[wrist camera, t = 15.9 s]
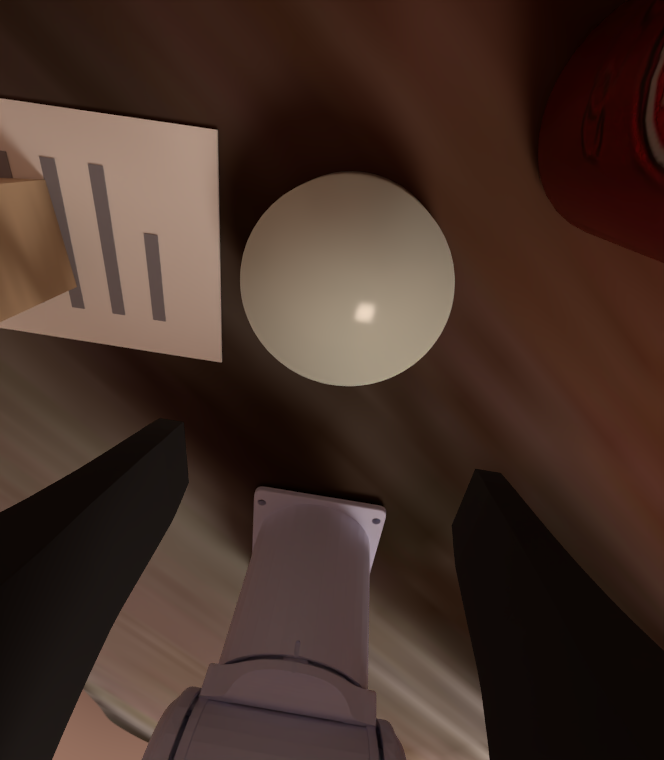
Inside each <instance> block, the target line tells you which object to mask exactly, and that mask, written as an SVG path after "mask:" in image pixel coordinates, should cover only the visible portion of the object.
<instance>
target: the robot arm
mask: <svg viewBox="0 0 664 760" xmlns="http://www.w3.org/2000/svg"><path fill="white" fill-rule="evenodd" d="M188 483H189V480H188V467H187V455H186V443H185V431H184V422H180V421H174V420H168V419H161V418H159V419H158V420H156V421H154V422H152V423H151V424H149V425H148V426H146V427H144V428H143V429H141V430H140V431H138V432H137V433H135V434H133V435H132V436H130V437H129V438H127V439H126V440H124V441H123V442H121V443H119V444H118V445H116V446H115V447H113V448H112V449H110V450H108V451H107V452H105V453H103V454H102V455H100V456H99V457H97V458H95V459H94V460H92V461H91V462H89V463H87V464H86V465H84V466H83V467H81V468H79V469H78V470H76V471H74V472H72V473H71V474H69V475H67V476H65V477H64V478H62V479H60V480H58V481H57V482H55V483H53V484H51V485H50V486H48V487H46V488H44V489H43V490H41V491H39V492H37V493H36V494H34V495H32V496H30V497H29V498H27V499H25V500H23V501H21V502H19V503H17V504H15V505H13V506H12V507H10V508H8V509H6V510H4V511H2V512H0V760H52V758H53V756H54V753H55V751H56V749H57V746H58V744H59V742H60V739H61V737H62V735H63V732H64V730H65V728H66V725H67V723H68V721H69V719H70V716H71V714H72V712H73V710H74V708H75V705H76V703H77V701H78V698H79V696H80V694H81V692H82V690H83V687H84V685H85V683H86V681H87V678H88V676H89V674H90V672H91V670H92V668H93V666H94V663H95V661H96V659H97V657H98V655H99V653H100V651H101V649H102V646H103V644H104V642H105V640H106V638H107V636H108V634H109V632H110V629H111V628H112V626H113V624H114V622H115V620H116V618H117V616H118V614H119V613H120V611H121V609H122V607H123V605H124V604H125V602H126V600H127V598H128V597H129V595H130V593H131V592H132V590H133V588H134V586H135V585H136V583H137V581H138V580H139V578H140V576H141V574H142V573H143V571H144V569H145V568H146V566H147V564H148V562H149V561H150V559H151V557H152V555H153V554H154V552H155V550H156V549H157V547H158V545H159V543H160V542H161V540H162V538H163V536H164V535H165V533H166V531H167V529H168V528H169V526H170V524H171V522H172V520H173V518H174V516H175V514H176V512H177V509H178V507H179V505H180V503H181V500H182V498H183V495H184V493H185V490H186V488H187V486H188ZM261 499H262V500H261ZM263 500H264V501H263ZM374 518H377V519H374ZM385 518H386V510H385V508H384V507H382V506H380V505H374V504H368V503H362V502H356V501H350V500H343V499H337V498H331V497H325V496H319V495H313V494H307V493H300V492H294V491H288V490H282V489H276V488H270V487H258V488H257V489H256V491H255V494H254V514H253V543H252V556H251V559H250V563H249V566H248V569H247V572H246V576H245V579H244V582H243V585H242V589H241V592H240V595H239V598H238V602H237V605H236V608H235V611H234V615H233V618H232V621H231V624H230V628H229V631H228V634H227V637H226V641H225V644H224V647H223V651H222V654H221V657H220V660H219V664H215V663H211V664H209V667H208V670H207V673H206V676H205V679H204V682H203V685H202V688H198V687H189V688H187V689H186V690H185V691H184V692H183V693H182V694H181V695H180V696H179V697H178V698H177V699H175V700H174V701H173V702H172V703H171V704H170V705H169V706H168V707H167V709H166V710H165V712H164V713H163V715H162V717H161V718H160V720H159V722H158V724H157V726H156V728H155V730H154V732H153V734H152V737H151V739H150V741H149V743H148V746H147V749H146V751H145V753H144V756H143V758H142V760H406V757H405V753H404V749H403V747H402V744H401V742H400V741H399V739H398V738H397V736H396V734H395V733H394V730H393V728H392V726H391V724H390V723H389V722H388V721H386V720H382V719H377V718H376V692H375V691H371V690H368V643H369V580H370V571H371V567H372V564H373V560H374V557H375V553H376V550H377V546H378V543H379V539H380V536H381V532H382V529H383V525H384V522H385ZM452 534H453V547H454V557H455V567H456V572H457V577H458V582H459V586H460V591H461V596H462V601H463V605H464V610H465V614H466V619H467V624H468V628H469V633H470V637H471V642H472V647H473V651H474V656H475V660H476V665H477V670H478V676H479V681H480V687H481V692H482V700H483V708H484V716H485V724H486V732H487V739H488V748H489V757H490V760H664V651H663V650H662V649H661V648H660V647H659V646H658V645H657V644H656V643H655V642H654V641H653V640H652V639H651V638H650V637H649V636H648V635H647V634H646V633H645V632H643V631H642V630H641V629H640V628H639V627H638V626H637V625H636V624H635V623H634V622H633V621H632V620H631V619H630V618H629V617H628V616H627V615H626V614H625V613H624V612H623V611H622V610H621V609H620V608H619V607H618V606H617V605H616V604H615V603H614V602H613V601H612V600H611V599H610V598H609V597H608V596H607V595H606V594H605V593H604V591H603V590H602V589H601V588H600V587H599V586H598V585H597V584H596V583H595V582H594V581H593V580H592V579H591V578H590V577H589V576H588V574H587V573H586V572H585V571H584V570H583V569H582V568H581V567H580V566H579V565H578V563H577V562H576V561H575V560H574V559H573V558H572V557H571V556H570V555H569V553H568V552H567V551H566V550H565V549H564V548H563V547H562V545H561V544H560V543H559V542H558V541H557V540H556V538H555V537H554V536H553V535H552V534H551V533H550V531H549V530H548V529H547V528H546V527H545V525H544V524H543V523H542V522H541V521H540V520H539V518H538V517H537V516H536V515H535V513H534V512H533V511H532V510H531V509H530V507H529V506H528V505H527V504H526V503H525V501H524V500H523V499H522V498H521V497H520V495H519V494H518V493H517V492H516V490H515V489H514V488H513V487H512V486H511V484H510V483H509V482H508V481H507V480H506V479H505V477H504V476H503V475H502V474H501V473H498V472H491V471H485V470H479V469H475V471H474V473H473V476H472V478H471V481H470V483H469V485H468V488H467V490H466V493H465V495H464V497H463V500H462V502H461V505H460V507H459V510H458V512H457V514H456V517H455V519H454V522H453V524H452Z"/></svg>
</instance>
